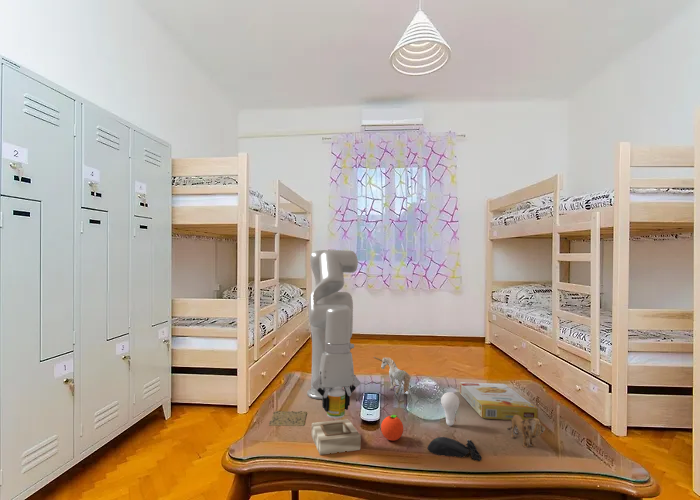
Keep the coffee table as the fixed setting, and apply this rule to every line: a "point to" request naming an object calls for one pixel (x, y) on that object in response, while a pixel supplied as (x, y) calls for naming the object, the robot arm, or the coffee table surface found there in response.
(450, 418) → the lightbulb
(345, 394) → the robot arm
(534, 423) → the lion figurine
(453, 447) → the black computer mouse
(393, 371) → the unicorn figurine
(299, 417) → the cookie
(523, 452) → the coffee table surface
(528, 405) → the cereal box
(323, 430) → the socket block
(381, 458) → the coffee table surface
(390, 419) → the clementine
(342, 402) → the supplement bottle
